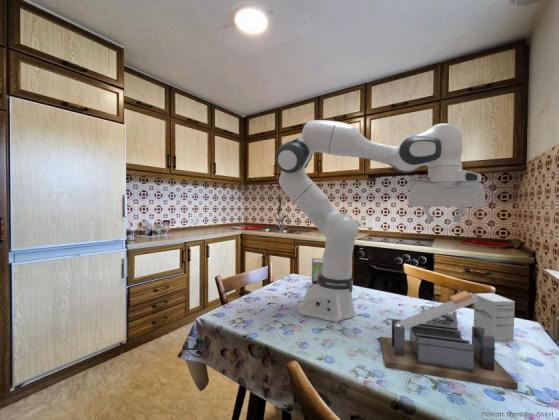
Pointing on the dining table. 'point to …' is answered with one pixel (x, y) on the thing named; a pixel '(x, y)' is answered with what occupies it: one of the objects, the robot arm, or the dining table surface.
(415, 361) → the heatsink board
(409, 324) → the bar
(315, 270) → the tea box
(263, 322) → the dining table surface
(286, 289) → the dining table surface
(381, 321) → the dining table surface
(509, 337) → the supplement box
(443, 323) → the graphics card
